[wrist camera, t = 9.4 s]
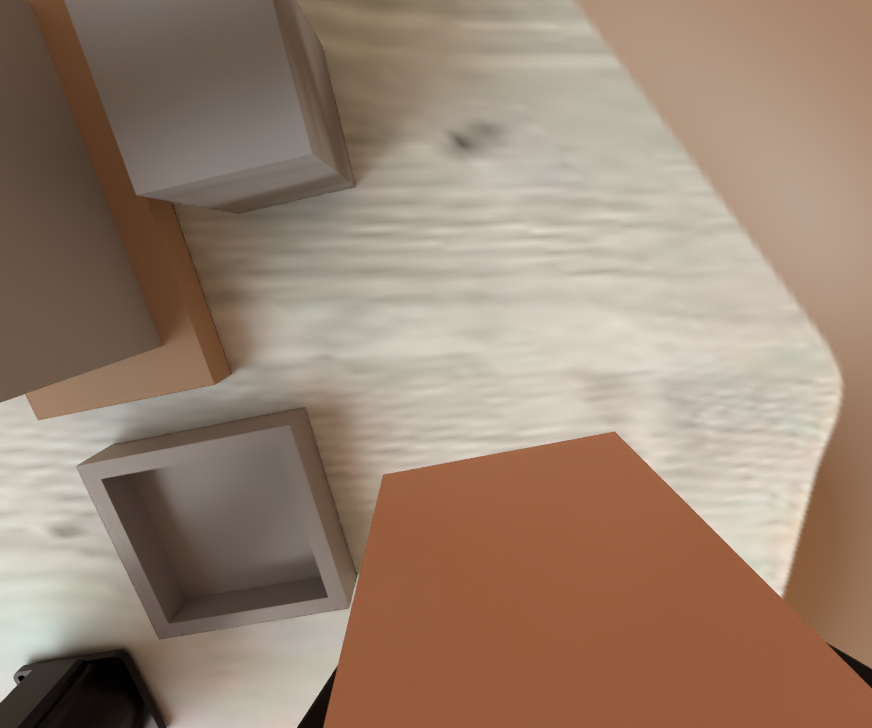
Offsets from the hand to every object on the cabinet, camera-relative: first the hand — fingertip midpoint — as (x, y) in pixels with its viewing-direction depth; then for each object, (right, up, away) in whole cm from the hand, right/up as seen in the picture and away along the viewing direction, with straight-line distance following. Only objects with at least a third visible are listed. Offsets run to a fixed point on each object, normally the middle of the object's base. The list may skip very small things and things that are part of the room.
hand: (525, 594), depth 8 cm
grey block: (-8, +14, +8) cm, 18 cm away
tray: (-12, -3, +12) cm, 17 cm away
